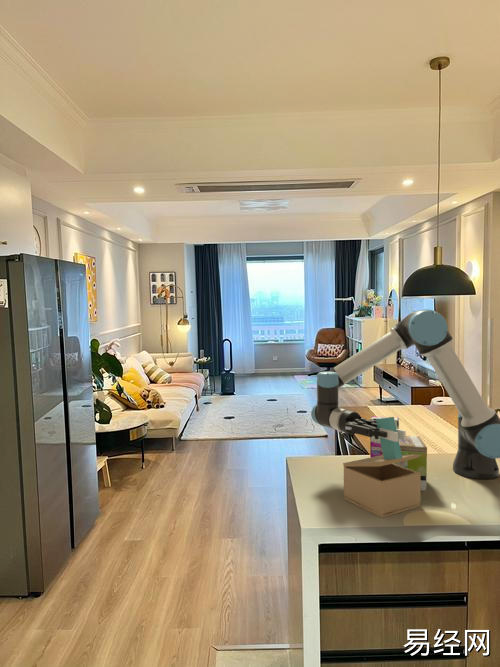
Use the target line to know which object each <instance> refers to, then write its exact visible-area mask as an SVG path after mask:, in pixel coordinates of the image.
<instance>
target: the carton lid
mask: <svg viewBox="0 0 500 667" xmlns="http://www.w3.org/2000/svg"><path fill="white" fill-rule="evenodd" d="M387 417H388V418H381V419H376V421H377V427H378V429H379V428H383V429H387V430H391V431H395V432H397V430H396V425H395V421H394V418H395V417H394V416H387ZM380 442H381V447H382V452H383V455H382V456H376V457H367V458H362V459H358V460H357V459H356V460H352V461H347V462H344V463H343V462H342V463H343V464H342V465H343V468H344V467H350V466H384V465H389V464H393V463H398V462H402V461H406V460H411V459H415V458H419V456H418V454H413V455H402V454H401V450H400V445H399V440H398V442H394V441H391V440H388V439H384V438H381V437H380Z"/></svg>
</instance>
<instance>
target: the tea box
mask: <svg viewBox="0 0 500 667" xmlns="http://www.w3.org/2000/svg"><path fill="white" fill-rule="evenodd" d="M398 440H399V445H400V450H401V454H402V455H413V454H418V456H419V458H415V459H411V460H406V461H402V462H398V463H394V464H396V465H399V466H402V467H405V468H408V469H411V470H413V471H416V472H419V473H421V486H420V492H421V491H424V492H425V491H426V490H427V478H428V477H427V474H428V473H427V470H428V469H427V468H428V447H427V445H426V443H425V442H424V441H423V439H422V438H421V436H419V435H418V436H417V435H416V436H415V435H406V440H400V439H398Z"/></svg>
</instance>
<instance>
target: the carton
mask: <svg viewBox="0 0 500 667" xmlns="http://www.w3.org/2000/svg"><path fill="white" fill-rule="evenodd" d="M420 486H421V473H419V472H416V471H413V470H411V469H408V468H405V467H402V466H399V465H396V464H394V463H393V464H389V465H384V466H350V467H344V466H343V499H344V500H346V501H348V502H349V503H352V504H354V505H355V506H357V507H360V508H362V509H364V510H365V511H368V512H370V513H371V514H374V515H376V516H378V517H379V518H385V517H389V516H392V515H395V514H398V513H402V512H405V511H408V510H411V509H416V508H418V507H421V490H420Z"/></svg>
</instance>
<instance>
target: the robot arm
mask: <svg viewBox="0 0 500 667" xmlns="http://www.w3.org/2000/svg"><path fill="white" fill-rule="evenodd" d="M452 343H453V336H452V334H451V333H450V332H449V330H448V323H447V320H446V319H445V317H444V316H443V315H442V314H441V313H440V312H437V311H435V310H432V309H421V310H417V311H416V310H415V311H413V312H410V313H409V314H408V315H406V316H405V317H404V318H402V319H401V320H400V321H399V322H398V323H396V324H395V325H393V326H392V327H390V331H389V332H387V333H386V334H384V335H383V336H381V337H380V338H378V339H376V340H375V341H373V342H372V343H370V344H369V345H367V346H366V347H364V348H362V349H361V350H359V351H358V352H356V353H355V354H353V355H351V356H350V357H348V358H347V359H345V360H344V361H342V362H341V363H339V364H338V365H336V366H334V367H333V368H332V369H330V370H327V371H320V372H317V374H316V376H317V379H316V395H317V396H316V397H317V399H316V404H315V405H314V406H313V407H312V410H311V412H310V413H311V414H310V416H311V419H312V421H313V422H314V423H315V424H318V425H320V426H321V427H324V428H325V427H326V428H330V429H333V430H337V431H339V433H342V432H343V433H345V434H348V435H361V436H364V437H368V438H370V437H373V436H375V439H379V437H381V438H384V439H388V440H391V441H394V442H398V439H400V440H406V436H407V435H406V430H403V429H400V428H399V429H396V430H397V432H395V431H391V430H387V429H383V428H379V429H378V427H377V421H376V419H373V420H372V421H370V419H366V418H362V416H361V414H359V413H358V412H356V411H354V410H349V409H345V408H340V407H339V389H341V387H343V386H344V385H346V384H347V383H349V382H351V381H352V380H354V379H355V378H358V376H361V375H362V374H363V373H365V372H366V371H367V372H368V370H370V369H371V368H373V367H375V366H376V365H378V364H380V363H381V362H383V361H385V360H386V359H387V358H389V357H391V356H392V355H394V354H396V353H397V352H399V351H401V350H403V349H404V350H407V349H409V348H411V347H412V346H415V348H416V349H417V352H418V353H419V354H420V356H422V357H426V358H427V359H428V361H429V363H430V364H431V366H432V368H433V370H434V371H435V374H436V375H437V377H438V378H439V381H440V382H441V384H442V385H443V387H444V389H445V390H446V392H447V394H448V396H449V398H450V399H451V401H452V402H453V404H454V406H455V408H456V409H457V411H458V416H457V422H458V423H457V426H458V427H457V434H458V435H457V446H458V447H457V452H456V453H455V454H456V455H455V457H454V459H453V460H454V461H453V463H452V471H453V472H454V473H455V474H457V475H459V476H464V477H466V478H471V479H478V480H493V479H497V478H498V477H499V476H500V468H499V464H498V462H497V460H496V459H500V417H499V415H498V414H497V412H496V410H495V409H493V408H490V407H488V406H487V404H486V403H485V401H484V398H482V396H481V394H480V392H479V390H478V389H477V387H476V385H475V384H474V382H473V380H472V378H471V377H470V375H469V373H468V371H467V370H466V368H465V366H464V365H463V363H462V361H461V360H460V358H459V356H458V355H457V353H456V351H455V350H454V348H453V346H452Z"/></svg>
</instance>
